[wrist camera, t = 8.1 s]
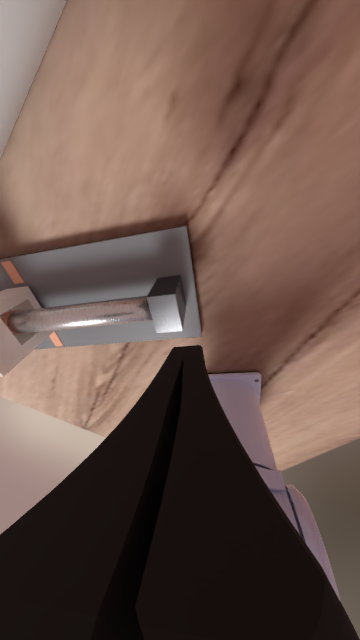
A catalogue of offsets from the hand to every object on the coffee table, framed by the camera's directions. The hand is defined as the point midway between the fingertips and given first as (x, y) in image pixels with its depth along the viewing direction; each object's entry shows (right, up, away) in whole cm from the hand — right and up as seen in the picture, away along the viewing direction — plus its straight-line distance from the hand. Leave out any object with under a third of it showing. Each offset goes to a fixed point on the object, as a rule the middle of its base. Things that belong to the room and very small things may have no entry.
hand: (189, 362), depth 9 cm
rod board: (-11, +4, +10) cm, 15 cm away
